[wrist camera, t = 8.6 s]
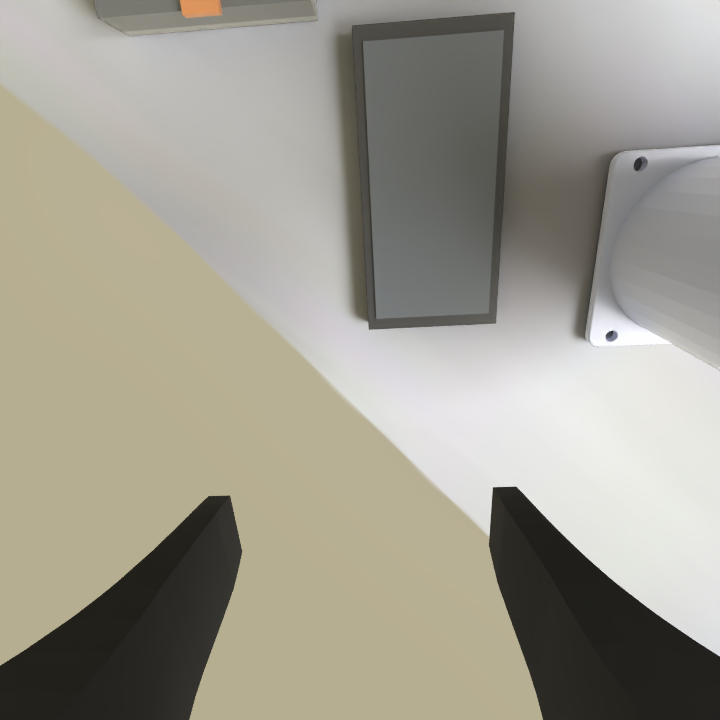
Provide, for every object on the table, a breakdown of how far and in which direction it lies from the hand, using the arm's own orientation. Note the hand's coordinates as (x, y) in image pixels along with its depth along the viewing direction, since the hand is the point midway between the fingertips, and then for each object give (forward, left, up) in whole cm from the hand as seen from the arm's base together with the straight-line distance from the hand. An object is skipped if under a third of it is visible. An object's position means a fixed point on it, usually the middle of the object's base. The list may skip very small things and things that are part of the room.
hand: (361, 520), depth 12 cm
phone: (-3, -8, -10) cm, 13 cm away
